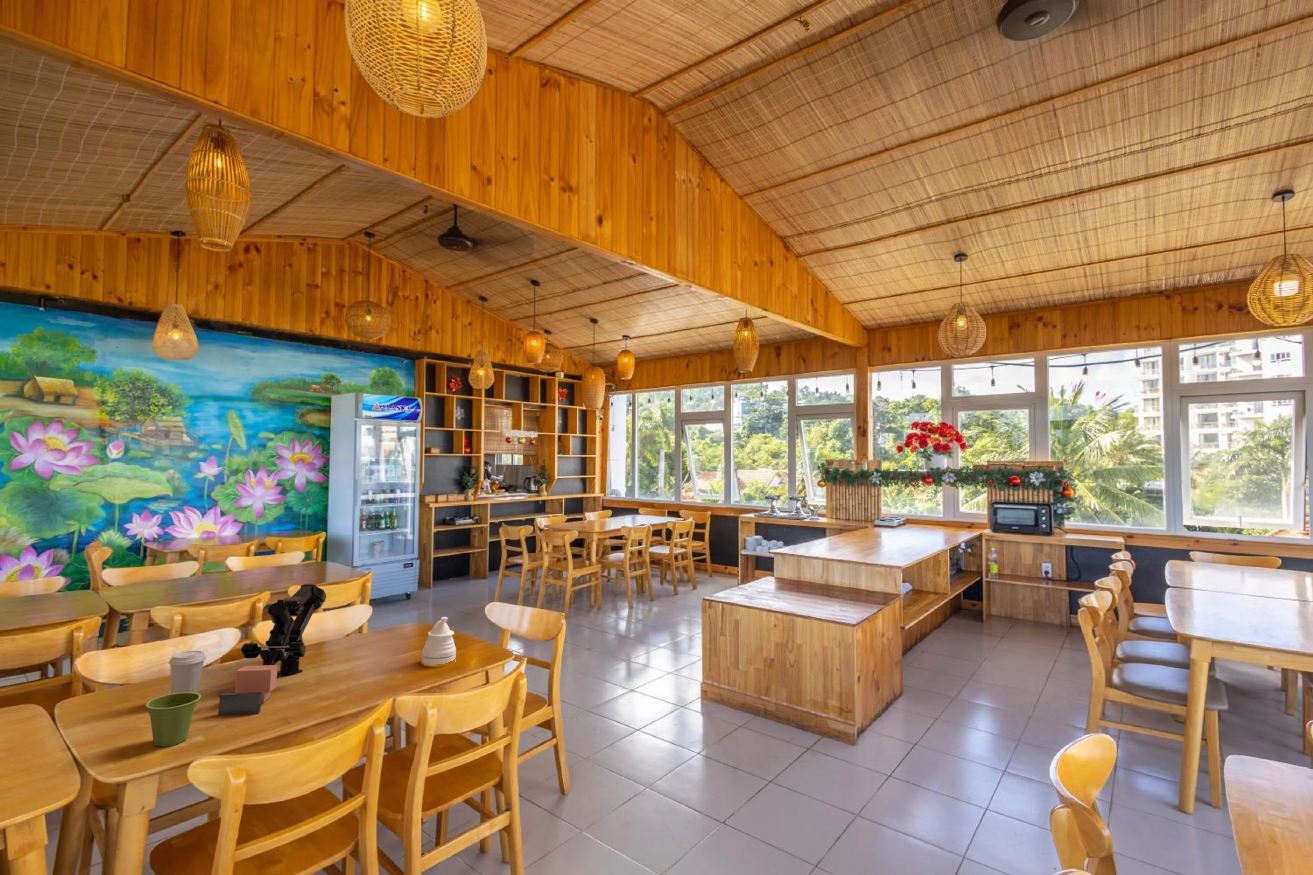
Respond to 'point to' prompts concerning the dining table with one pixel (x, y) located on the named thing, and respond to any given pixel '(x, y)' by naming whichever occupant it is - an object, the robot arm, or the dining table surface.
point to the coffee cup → (186, 671)
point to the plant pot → (172, 717)
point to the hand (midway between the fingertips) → (265, 673)
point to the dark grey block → (240, 703)
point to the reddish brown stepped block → (256, 680)
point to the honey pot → (439, 644)
